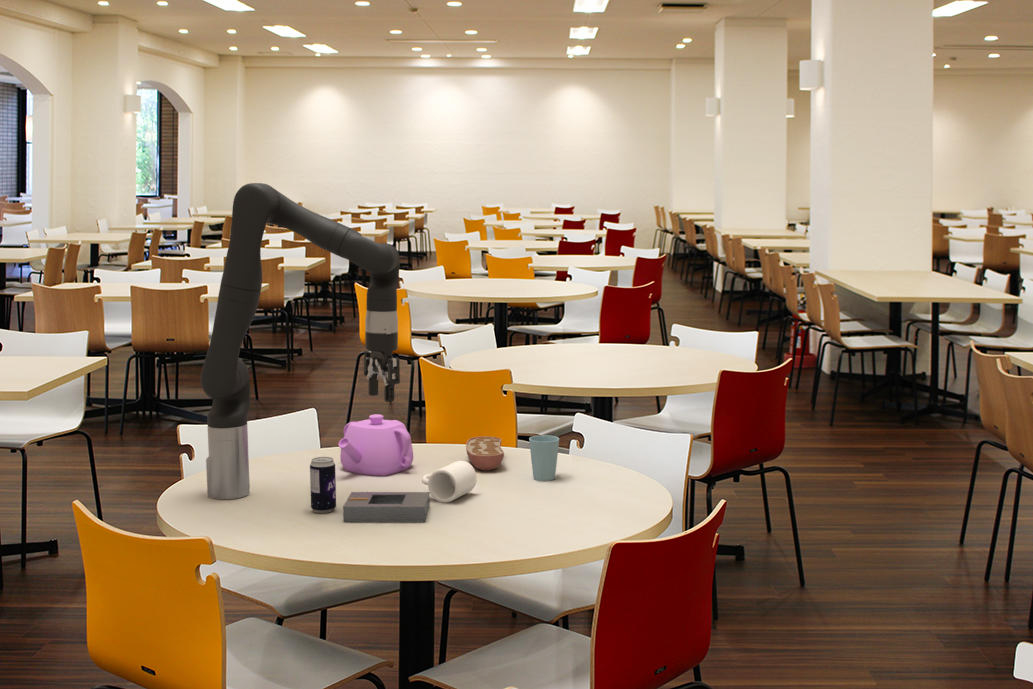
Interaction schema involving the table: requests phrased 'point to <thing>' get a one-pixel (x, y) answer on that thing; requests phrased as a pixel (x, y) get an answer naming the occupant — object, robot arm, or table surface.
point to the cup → (544, 456)
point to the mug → (451, 481)
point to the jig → (386, 507)
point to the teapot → (376, 447)
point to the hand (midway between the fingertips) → (381, 398)
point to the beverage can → (323, 484)
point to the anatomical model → (485, 452)
